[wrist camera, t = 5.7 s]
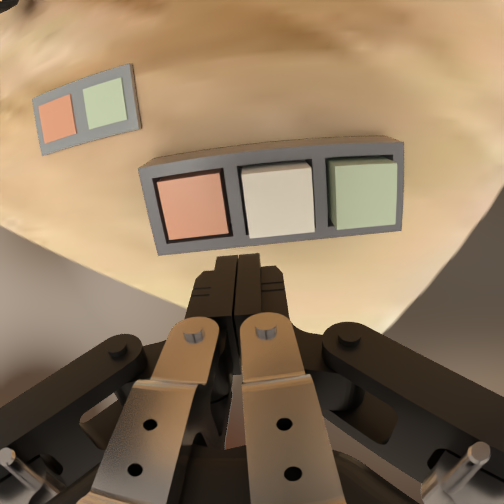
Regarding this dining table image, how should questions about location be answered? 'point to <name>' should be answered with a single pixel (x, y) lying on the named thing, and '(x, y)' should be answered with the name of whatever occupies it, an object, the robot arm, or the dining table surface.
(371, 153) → the keypad
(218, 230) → the key terracotta
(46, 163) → the dining table surface
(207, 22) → the dining table surface
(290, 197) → the key cream
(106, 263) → the dining table surface
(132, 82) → the tile
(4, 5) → the mug
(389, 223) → the key sage
